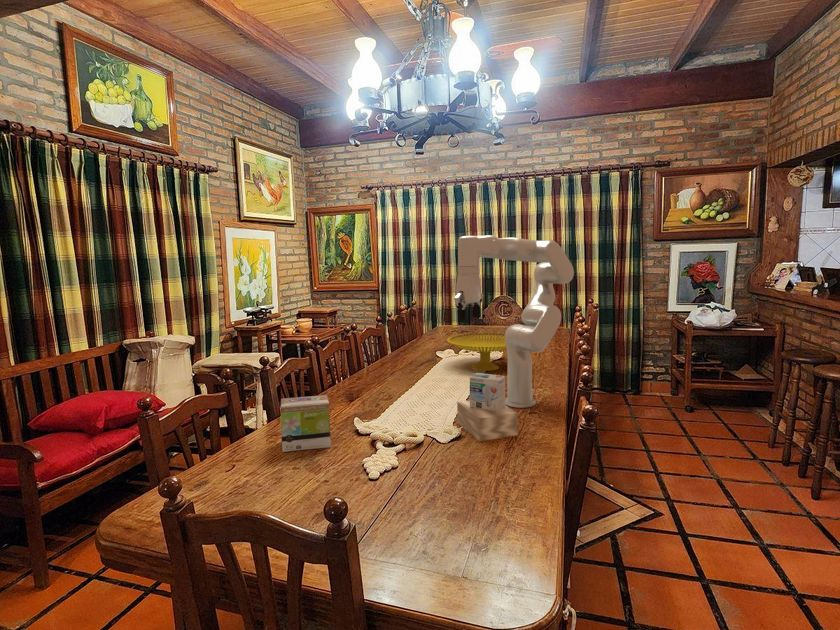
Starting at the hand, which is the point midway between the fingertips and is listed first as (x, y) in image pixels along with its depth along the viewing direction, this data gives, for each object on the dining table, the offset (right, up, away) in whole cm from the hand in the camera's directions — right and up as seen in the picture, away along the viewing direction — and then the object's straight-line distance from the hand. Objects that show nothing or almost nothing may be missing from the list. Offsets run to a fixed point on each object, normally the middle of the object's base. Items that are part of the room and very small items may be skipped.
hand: (469, 319), depth 170 cm
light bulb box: (+5, -30, -8) cm, 32 cm away
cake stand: (+16, -26, +77) cm, 83 cm away
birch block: (+5, -38, -7) cm, 39 cm away
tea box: (-54, -40, -18) cm, 70 cm away
